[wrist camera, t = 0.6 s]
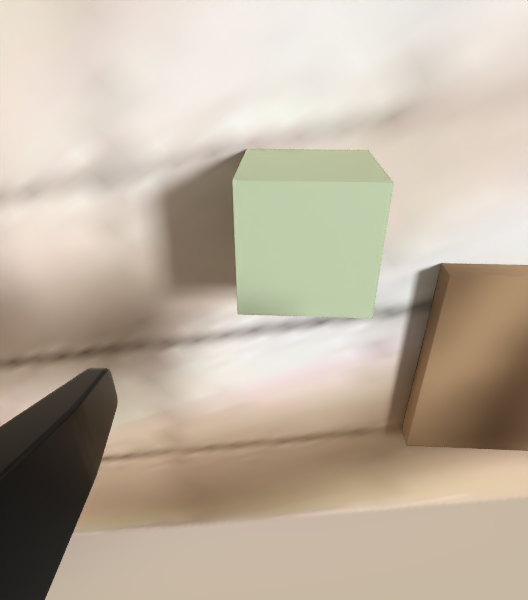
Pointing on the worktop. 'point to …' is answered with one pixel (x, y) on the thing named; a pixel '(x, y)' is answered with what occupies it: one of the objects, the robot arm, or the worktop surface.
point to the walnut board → (473, 362)
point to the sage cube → (309, 232)
